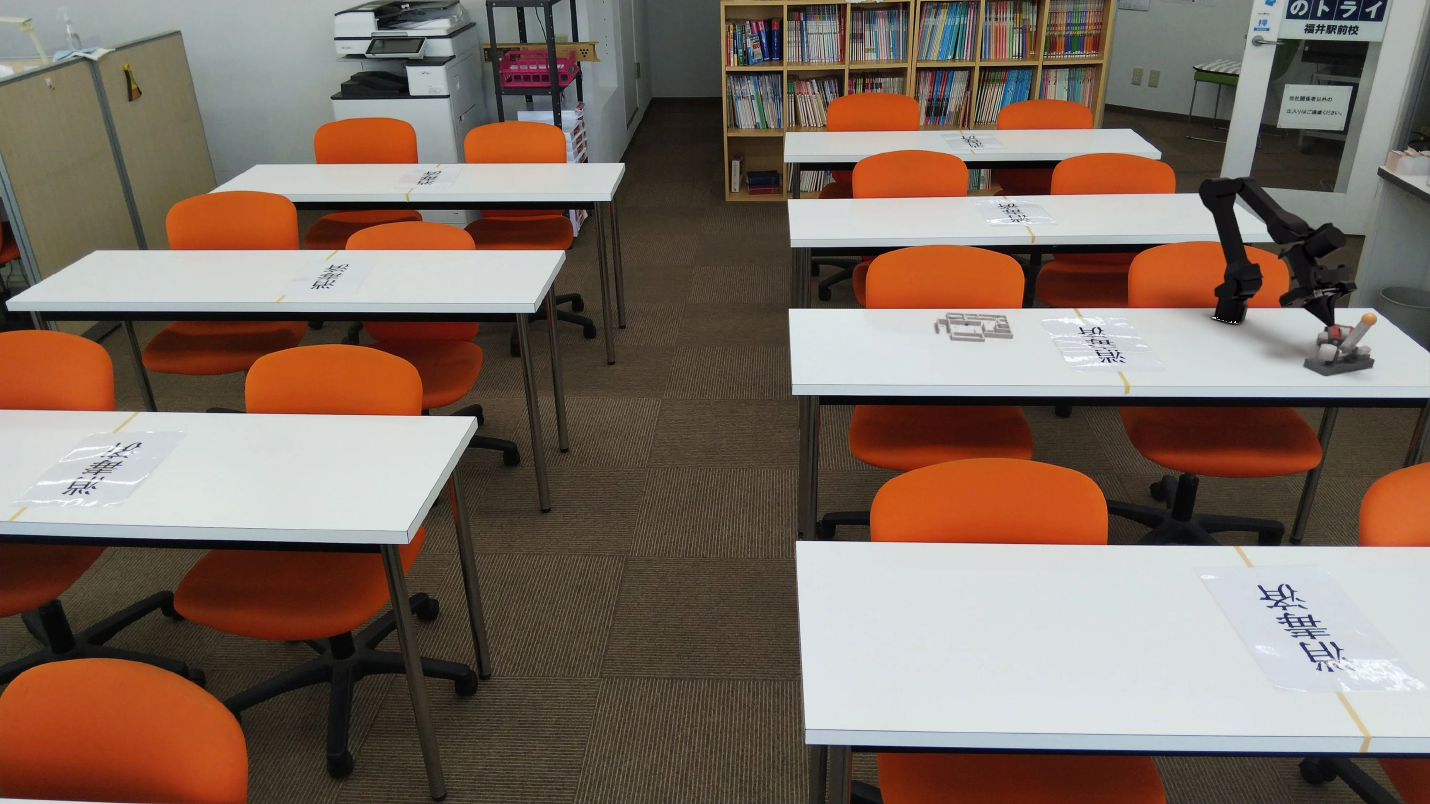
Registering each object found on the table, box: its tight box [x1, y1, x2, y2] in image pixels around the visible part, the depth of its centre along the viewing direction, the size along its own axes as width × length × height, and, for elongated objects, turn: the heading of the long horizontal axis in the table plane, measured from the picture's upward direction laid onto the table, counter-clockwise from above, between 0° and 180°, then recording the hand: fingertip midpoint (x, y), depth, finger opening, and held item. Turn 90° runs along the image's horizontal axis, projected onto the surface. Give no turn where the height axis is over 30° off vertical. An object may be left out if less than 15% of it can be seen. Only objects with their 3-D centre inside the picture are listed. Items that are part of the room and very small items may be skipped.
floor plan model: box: [935, 312, 1014, 343], centre depth 244 cm, size 19×25×2 cm
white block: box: [1356, 340, 1372, 355], centre depth 225 cm, size 4×3×1 cm
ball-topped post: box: [1338, 312, 1378, 358], centre depth 220 cm, size 3×4×13 cm
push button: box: [1317, 344, 1337, 361], centre depth 222 cm, size 3×3×3 cm
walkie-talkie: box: [1315, 323, 1355, 349], centre depth 237 cm, size 9×4×20 cm
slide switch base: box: [1302, 346, 1376, 377], centre depth 225 cm, size 6×15×5 cm, turn 109°
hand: (1331, 326), depth 226 cm, fingers closed
